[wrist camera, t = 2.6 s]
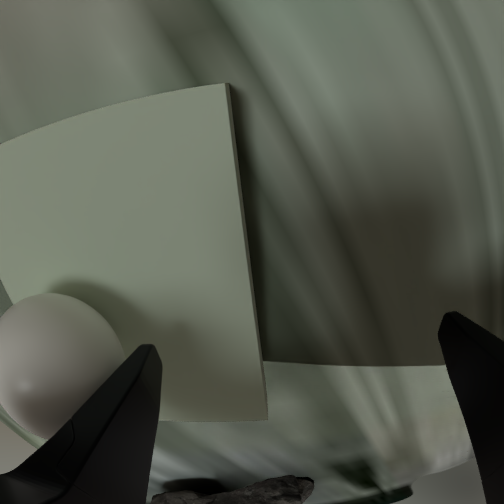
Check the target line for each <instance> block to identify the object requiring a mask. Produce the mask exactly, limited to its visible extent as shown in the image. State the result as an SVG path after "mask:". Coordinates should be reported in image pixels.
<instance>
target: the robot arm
mask: <svg viewBox="0 0 504 504" xmlns="http://www.w3.org/2000/svg"><path fill="white" fill-rule="evenodd" d="M438 339H439V343H440V346H441V349H442V353H443V356H444V360H445V364H446V367H447V371H448V374H449V378H450V380H451V383H452V386H453V389H454V391H455V394H456V397H457V400H458V403H459V406H460V408H461V411H462V414H463V417H464V420H465V423H466V427H467V430H468V433H469V436H470V440H471V443H472V446H473V450H474V453H475V457H476V460H477V464H478V468H479V472H480V476H481V480H482V485H483V490H484V494H485V498H486V503H487V504H504V341H502V340H501V339H499V338H498V337H496V336H495V335H493V334H492V333H490V332H489V331H487V330H485V329H484V328H482V327H481V326H479V325H478V324H476V323H475V322H473V321H471V320H470V319H468V318H467V317H465V316H463V315H462V314H460V313H459V312H457V311H452V312H448V313H445V314H444V316H443V319H442V322H441V325H440V328H439V331H438ZM162 371H163V365H162V361H161V359H160V356H159V354H158V352H157V349H156V347H155V346H154V345H153V344H141V345H139V346H138V347H137V348H136V350H135V351H134V352H133V353H132V354H131V355H130V356H129V357H128V358H127V359H126V360H125V361H124V362H123V363H122V364H121V365H120V366H119V367H118V368H117V369H116V370H115V371H114V372H113V373H112V375H111V376H110V377H109V378H108V379H107V380H106V381H105V382H104V383H103V384H102V385H101V386H100V387H99V388H98V389H97V390H96V391H95V392H94V393H93V394H92V396H91V397H90V398H89V399H88V400H87V401H86V402H85V403H84V404H83V405H82V406H81V407H80V408H79V409H78V410H77V411H76V412H75V413H74V415H73V416H72V417H71V419H69V420H68V421H67V422H66V423H65V424H64V425H63V426H62V427H61V428H60V429H59V430H58V431H57V432H56V433H55V434H54V435H53V436H52V437H51V438H50V439H49V440H48V441H47V442H46V443H45V444H43V445H42V446H41V447H40V448H39V449H38V450H37V451H36V452H34V454H32V455H31V456H30V457H29V458H27V459H26V460H25V461H24V462H23V463H22V464H20V465H19V466H18V467H17V468H15V469H14V470H12V471H10V472H8V473H5V474H0V504H146V496H147V489H148V482H149V475H150V468H151V462H152V455H153V449H154V443H155V437H156V431H157V425H158V419H159V413H160V401H161V385H162Z"/></svg>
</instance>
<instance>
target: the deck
mask: <svg viewBox="0 0 504 504" xmlns="http://www.w3.org/2000/svg"><path fill="white" fill-rule="evenodd" d="M0 279H1V281H2V283H3V285H4V287H5V289H6V291H7V293H8V295H9V297H10V299H11V301H12V303H13V305H14V304H15V303H17V302H19V301H20V300H22V299H24V298H26V297H30V296H33V295H36V294H43V293H57V294H63V295H67V296H71V297H74V298H76V299H78V300H80V301H82V302H84V303H86V304H88V305H89V306H91V307H92V308H93V309H95V310H96V311H97V312H98V313H99V314H101V315H102V316H103V317H104V318H105V320H106V321H107V322H108V323H109V324H110V326H111V327H112V329H113V330H114V332H115V333H116V335H117V337H118V339H119V341H120V344H121V346H122V348H123V351H124V355H125V359H127V358H128V357H129V356H130V355H131V354H132V353H133V352H134V351H135V350H136V348H137V347H138V346H139V345H141V344H153V345H154V346H155V347H156V349H157V352H158V354H159V356H160V359H161V361H162V365H163V371H162V385H161V401H160V413H159V419H158V420H161V421H184V422H236V421H259V420H268V408H267V391H266V383H265V375H264V367H263V359H262V351H261V343H260V335H259V327H258V319H257V311H256V303H255V295H254V287H253V279H252V270H251V262H250V254H249V246H248V238H247V229H246V221H245V213H244V205H243V197H242V188H241V180H240V172H239V163H238V155H237V147H236V139H235V130H234V122H233V113H232V105H231V97H230V88H229V83H221V84H214V85H207V86H200V87H194V88H188V89H182V90H177V91H171V92H166V93H161V94H156V95H152V96H147V97H143V98H138V99H134V100H130V101H126V102H122V103H118V104H114V105H110V106H107V107H103V108H99V109H96V110H93V111H89V112H86V113H83V114H79V115H76V116H73V117H70V118H67V119H64V120H61V121H58V122H55V123H52V124H50V125H47V126H44V127H41V128H39V129H36V130H33V131H31V132H28V133H26V134H23V135H21V136H18V137H16V138H14V139H11V140H9V141H7V142H4V143H2V144H0Z"/></svg>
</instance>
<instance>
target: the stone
mask: <svg viewBox="0 0 504 504" xmlns="http://www.w3.org/2000/svg"><path fill="white" fill-rule="evenodd" d="M313 489H314V480H312V479H311V478H309V477H295V476H294V475H287V476H282V477H276V478H269V479H266V480H264V481H261V482H256V483H254V484H252V485H250V486H247V487H245V488H241V489H237V490H235V491H231V492H223V493H219V494H212V495H206V494H202V493H197V492H194V491H187V490H185V491H175V492H172V491H171V492H164V493H162V494H156V495H153V497H152V501H151V503H150V504H302V503H303V502H304V501H305V500H306V499H307V498H308V497H309V496H310V495H311V493H312V491H313Z"/></svg>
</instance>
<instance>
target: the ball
mask: <svg viewBox="0 0 504 504" xmlns="http://www.w3.org/2000/svg"><path fill="white" fill-rule="evenodd" d="M125 360H126V359H125V355H124V351H123V348H122V346H121V344H120V341H119V339H118V337H117V335H116V333H115V332H114V330H113V329H112V327H111V326H110V324H109V323H108V322H107V321H106V320H105V318H104V317H103V316H102V315H101V314H99V313H98V312H97V311H96V310H95V309H93V308H92V307H91V306H89V305H88V304H86V303H84V302H82V301H80V300H78V299H76V298H74V297H71V296H67V295H63V294H57V293H43V294H36V295H33V296H30V297H26V298H24V299H22V300H20V301H19V302H17V303H15V304H14V305H13V306H11V307H10V308H9V309H8V310H7V311H6V312H5V313H4V314H3V315H2V317H1V318H0V404H1V405H2V407H3V408H4V409H5V410H6V412H7V413H8V414H9V416H10V417H11V418H12V419H13V420H14V421H16V422H17V423H18V424H19V425H20V426H22V427H23V428H24V429H26V430H27V431H29V432H31V433H33V434H35V435H37V436H39V437H42V438H44V439H48V440H49V439H50V438H51V437H52V436H53V435H54V434H55V433H56V432H57V431H58V430H59V429H60V428H61V427H62V426H63V425H64V424H65V423H66V422H67V421H68V420H69V419H71V417H72V416H73V415H74V413H75V412H76V411H77V410H78V409H79V408H80V407H81V406H82V405H83V404H84V403H85V402H86V401H87V400H88V399H89V398H90V397H91V396H92V394H93V393H94V392H95V391H96V390H97V389H98V388H99V387H100V386H101V385H102V384H103V383H104V382H105V381H106V380H107V379H108V378H109V377H110V376H111V375H112V373H113V372H114V371H115V370H116V369H117V368H118V367H119V366H120V365H121V364H122V363H123V362H124V361H125Z"/></svg>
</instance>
